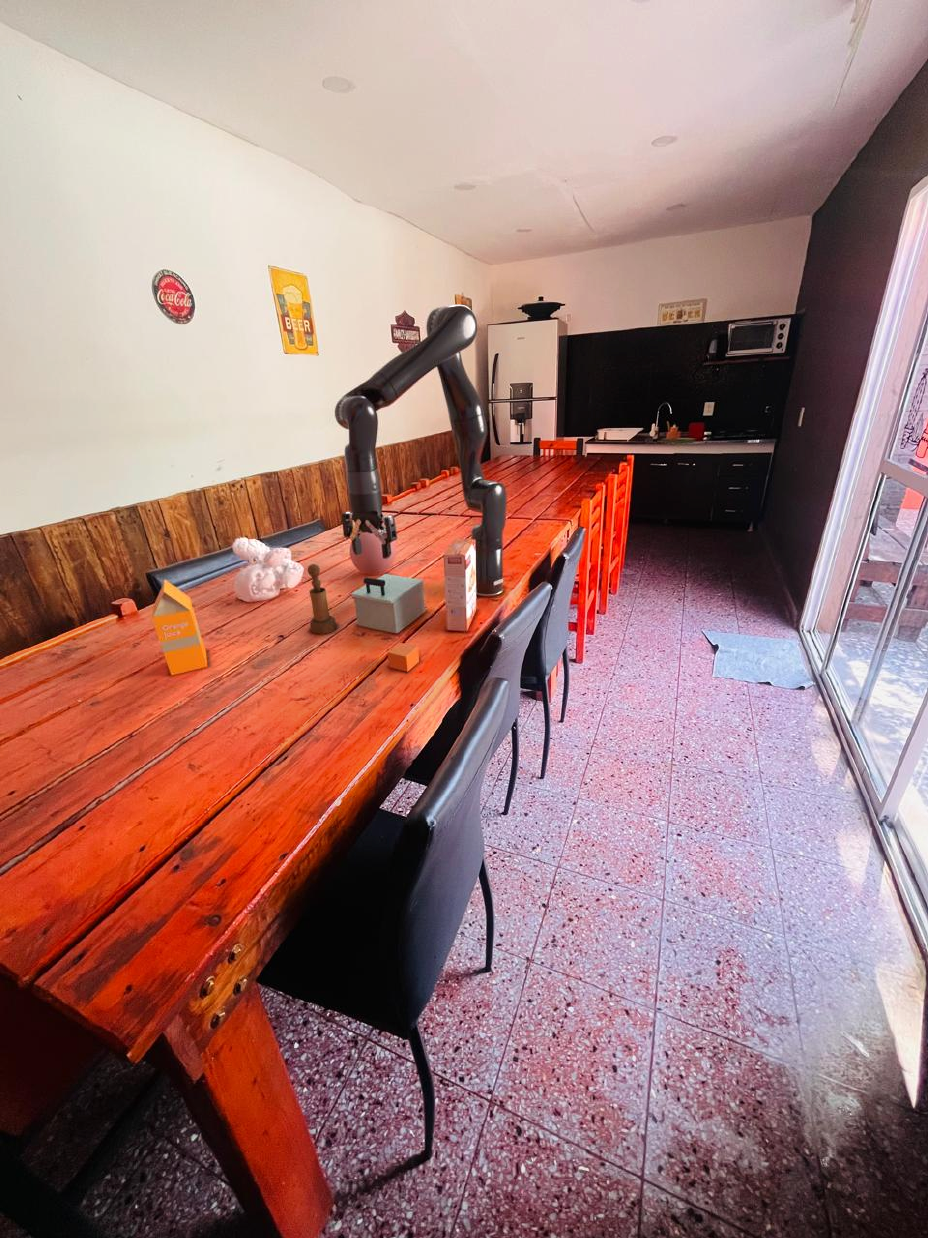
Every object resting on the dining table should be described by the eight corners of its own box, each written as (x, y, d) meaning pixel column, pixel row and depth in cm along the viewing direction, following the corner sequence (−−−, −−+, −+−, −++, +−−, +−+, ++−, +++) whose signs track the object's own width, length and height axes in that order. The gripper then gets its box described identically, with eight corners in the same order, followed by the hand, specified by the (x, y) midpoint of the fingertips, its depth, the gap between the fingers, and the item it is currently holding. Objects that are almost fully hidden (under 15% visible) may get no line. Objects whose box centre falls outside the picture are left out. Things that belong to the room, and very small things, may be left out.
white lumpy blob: (205, 576, 145) (244, 526, 154) (245, 613, 161) (278, 566, 170) (251, 588, 138) (289, 535, 146) (288, 626, 154) (321, 576, 162)
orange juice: (170, 675, 113) (142, 595, 104) (171, 658, 120) (145, 582, 111) (208, 666, 116) (184, 587, 107) (206, 650, 123) (184, 575, 114)
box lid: (391, 603, 123) (389, 585, 121) (351, 596, 128) (348, 578, 126) (423, 582, 135) (422, 565, 133) (385, 576, 141) (383, 559, 139)
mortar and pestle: (341, 625, 133) (331, 562, 125) (326, 636, 128) (314, 570, 120) (322, 621, 136) (311, 559, 128) (306, 631, 130) (293, 567, 123)
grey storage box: (396, 633, 128) (393, 602, 124) (357, 625, 133) (353, 595, 129) (425, 611, 139) (423, 582, 135) (388, 604, 145) (385, 576, 141)
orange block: (401, 657, 117) (399, 642, 115) (419, 661, 115) (417, 646, 113) (389, 667, 113) (387, 652, 111) (407, 672, 111) (406, 656, 109)
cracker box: (468, 632, 127) (466, 555, 118) (445, 631, 128) (441, 554, 119) (478, 610, 139) (476, 538, 130) (457, 608, 140) (454, 537, 131)
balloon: (402, 560, 180) (398, 519, 173) (395, 580, 162) (390, 535, 155) (359, 562, 180) (354, 520, 173) (348, 582, 162) (342, 537, 155)
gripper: (399, 488, 115) (404, 554, 122) (350, 484, 121) (358, 548, 128) (380, 494, 109) (387, 564, 116) (330, 490, 115) (339, 557, 122)
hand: (372, 555), depth 122 cm, fingers open, 8 cm apart
